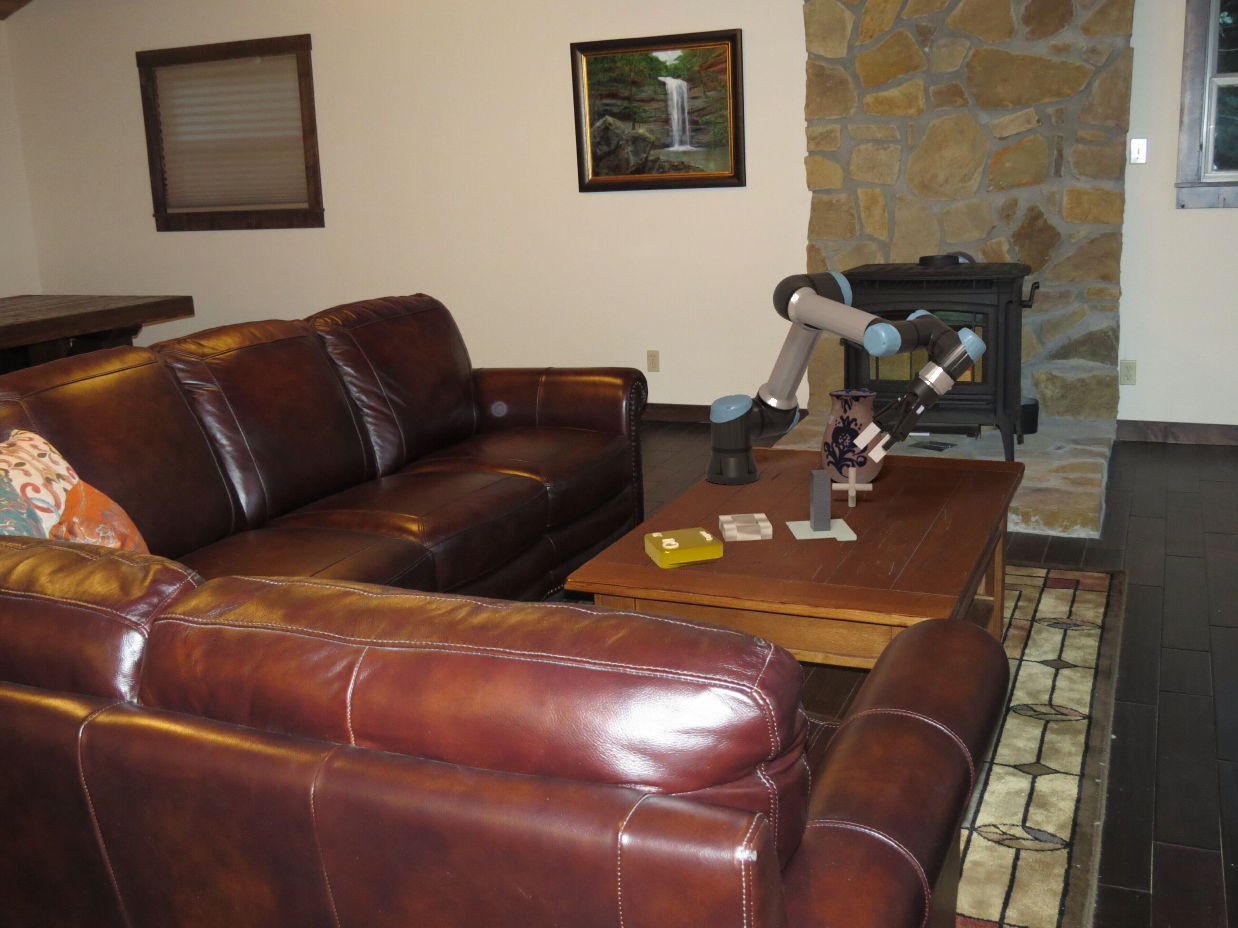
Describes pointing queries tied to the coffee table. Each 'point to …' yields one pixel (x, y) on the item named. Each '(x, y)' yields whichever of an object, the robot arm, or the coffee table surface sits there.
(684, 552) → the element tile
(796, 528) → the plate
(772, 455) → the coffee table surface
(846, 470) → the ceramic pitcher
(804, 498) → the coffee table surface
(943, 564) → the coffee table surface
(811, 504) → the peg
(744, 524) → the socket block
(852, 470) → the pipe connector
